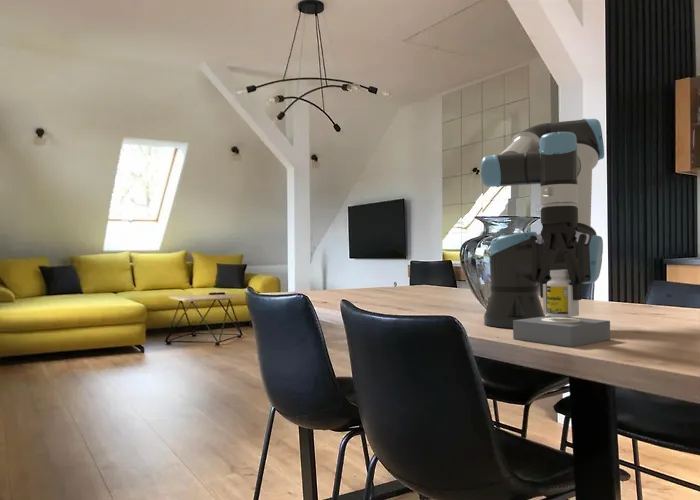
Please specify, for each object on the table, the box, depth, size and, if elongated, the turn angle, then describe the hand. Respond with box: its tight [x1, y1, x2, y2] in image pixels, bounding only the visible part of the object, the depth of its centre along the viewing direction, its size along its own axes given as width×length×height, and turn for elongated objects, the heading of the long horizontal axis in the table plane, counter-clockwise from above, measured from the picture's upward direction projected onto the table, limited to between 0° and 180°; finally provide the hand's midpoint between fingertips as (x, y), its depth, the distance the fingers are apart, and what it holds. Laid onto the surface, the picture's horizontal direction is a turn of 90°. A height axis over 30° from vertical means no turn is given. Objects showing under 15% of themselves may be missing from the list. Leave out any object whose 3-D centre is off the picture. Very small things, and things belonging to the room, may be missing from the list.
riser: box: [512, 315, 611, 348], centre depth 126 cm, size 14×14×4 cm
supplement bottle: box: [546, 270, 573, 317], centre depth 126 cm, size 5×5×10 cm
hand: (560, 314), depth 126 cm, fingers closed on supplement bottle, 5 cm apart
